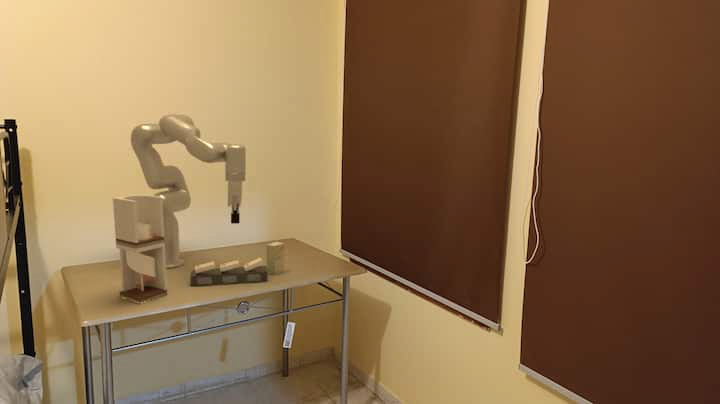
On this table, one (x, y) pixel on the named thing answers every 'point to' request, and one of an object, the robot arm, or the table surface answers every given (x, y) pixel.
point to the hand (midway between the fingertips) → (235, 222)
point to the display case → (141, 246)
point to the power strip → (228, 276)
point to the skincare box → (275, 258)
